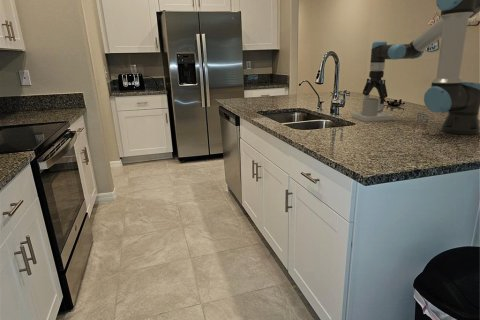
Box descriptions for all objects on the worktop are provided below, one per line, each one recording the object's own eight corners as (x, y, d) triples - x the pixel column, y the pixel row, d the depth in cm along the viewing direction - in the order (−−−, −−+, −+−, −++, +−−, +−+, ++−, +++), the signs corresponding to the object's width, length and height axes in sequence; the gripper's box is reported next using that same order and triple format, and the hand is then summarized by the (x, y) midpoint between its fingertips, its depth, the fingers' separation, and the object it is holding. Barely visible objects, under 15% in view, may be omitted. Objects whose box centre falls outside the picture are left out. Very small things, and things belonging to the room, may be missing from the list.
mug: (364, 119, 182) (366, 100, 179) (359, 116, 190) (360, 98, 187) (385, 118, 182) (387, 99, 178) (379, 116, 190) (381, 97, 187)
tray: (376, 115, 195) (377, 111, 194) (393, 120, 181) (394, 115, 180) (351, 117, 192) (351, 112, 191) (366, 122, 177) (366, 117, 177)
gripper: (358, 70, 189) (355, 105, 195) (385, 71, 165) (380, 111, 172) (369, 69, 190) (366, 104, 197) (397, 70, 167) (392, 110, 173)
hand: (372, 108), depth 184 cm, fingers open, 13 cm apart
